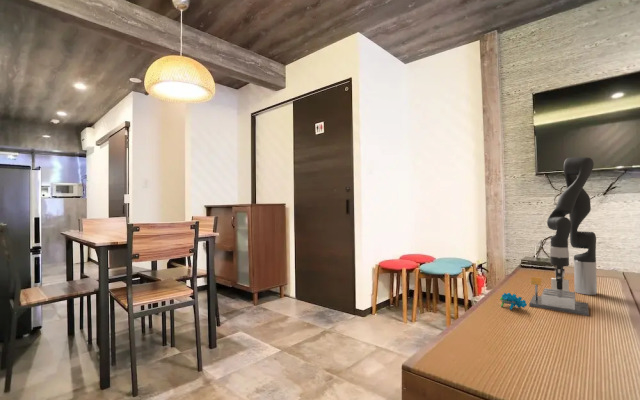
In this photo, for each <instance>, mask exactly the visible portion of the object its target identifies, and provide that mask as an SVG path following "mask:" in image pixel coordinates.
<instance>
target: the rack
mask: <svg viewBox="0 0 640 400" xmlns="http://www.w3.org/2000/svg"><path fill="white" fill-rule="evenodd" d="M530 279H531V280H530V284H531V285H534V295H532V298H531V300H530V301H529V303H528V304H529V307H531V308H538V309H545V310H550V311H556V312H563V313H568V314H573V315H580V316H584V317H585V316H587V317H589V315H590V314H589V313H590V311H589V310H590V309H589V302H588V303H587V302H582V301H576V292H575V291H570V290H569V291H562V290H554V289H551V288H546V287H544V288H543V291H542V292H541V295H539V292H538V286H542V277H538V276H531V277H530Z"/></svg>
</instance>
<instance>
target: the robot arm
mask: <svg viewBox="0 0 640 400" xmlns="http://www.w3.org/2000/svg"><path fill="white" fill-rule="evenodd" d="M594 164H595V163H594V160H593V158H591V157H587V156H586V157H585V156H583V157H579V156H577V157H572V156H571V157H567V158H566V159H565V160H564V163H563V173H564V178H565V184H566V188H565V189H564V191H563V192H561V194H560V195H559V197H558V199H557V203H556V206H555V208H554V209H553V210H552V211H551V213H550V215H549V216H548V218H547V222H546V224H547V227H548V229H550V230H553V231H556V232H555V234H553V235H552V236H551V237H550V250H549V252H550V253H549V255H550V257H549V259H550V265H552V266H556V267H555V268H554V275H555V276H554V277H555V278H556V282H557V289H558V290H562V282H563V279H565V272H566V269H565V268H564V267H569V265H570V252H569V242H570V246H571V247H572V248H575V249H587V251H585V252H583V253H579V254H577V253H576V254H574V256H573V272H574V276H573V277H574V280H573V281H574V284H573V285H574V292H575V293H577V294H583V295H589V296H596V295H597V293H598V292H597V290H598V289H597V286H598V285H597V283H598V282H597V255H596V254H597V251H596V250H597V248H596V247H597V235H596V234H595V233H594V232H593V231H578V229H579V227H580V225H581V224H582V222H583V221H584V220H585V218H586V217H587V216H589V213H590V212H591V211H592V210H591V197H590V196H589V194H588V193H587V191H586V190H585V189H584V186H585V185H586V183H587V181H588V180H589V178H590V176H591V174H592V172H593V170H594ZM567 215H569V218H568V217H567Z"/></svg>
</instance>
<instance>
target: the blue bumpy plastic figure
mask: <svg viewBox="0 0 640 400" xmlns="http://www.w3.org/2000/svg"><path fill="white" fill-rule="evenodd" d="M499 298H500V299H499V300H500V301H501V305H500V307H502V308H503V307H504V304H506V305H510V306H509V310H510V311H512V310H513V308H514V307H517V308H519V309H520V308H522V309H523V308H525V307H527V301H526V300H525V299H523V297H522V296H518V297H517V294H515V293H513V294H512V293H510V292H507V293H506V292H504V293H503V294H502V295H501V297H499Z"/></svg>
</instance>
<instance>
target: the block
mask: <svg viewBox="0 0 640 400" xmlns="http://www.w3.org/2000/svg"><path fill="white" fill-rule="evenodd" d="M550 280H551V281H550V282H551V284H550V285H551V286H550V287H551V288H550V289H554V290H558V289H557V282H556V277H555V278H554V277H551V279H550ZM562 291H570V281H569V279H565V278H563V282H562Z"/></svg>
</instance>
